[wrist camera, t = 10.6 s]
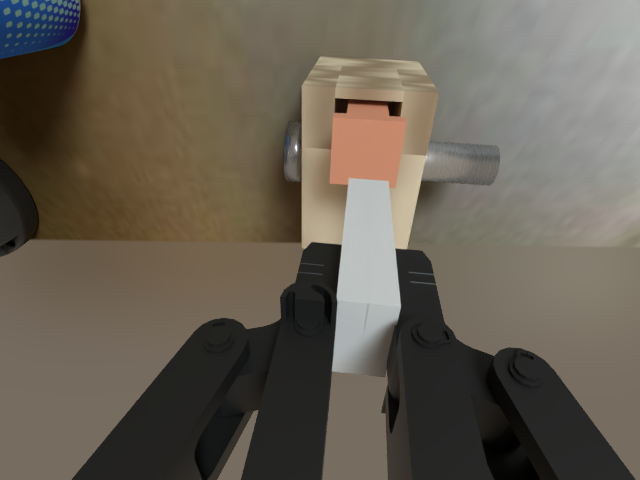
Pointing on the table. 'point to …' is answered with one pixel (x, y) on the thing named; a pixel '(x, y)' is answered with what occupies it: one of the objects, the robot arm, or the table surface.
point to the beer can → (36, 25)
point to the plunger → (366, 143)
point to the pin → (440, 162)
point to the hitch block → (332, 97)
